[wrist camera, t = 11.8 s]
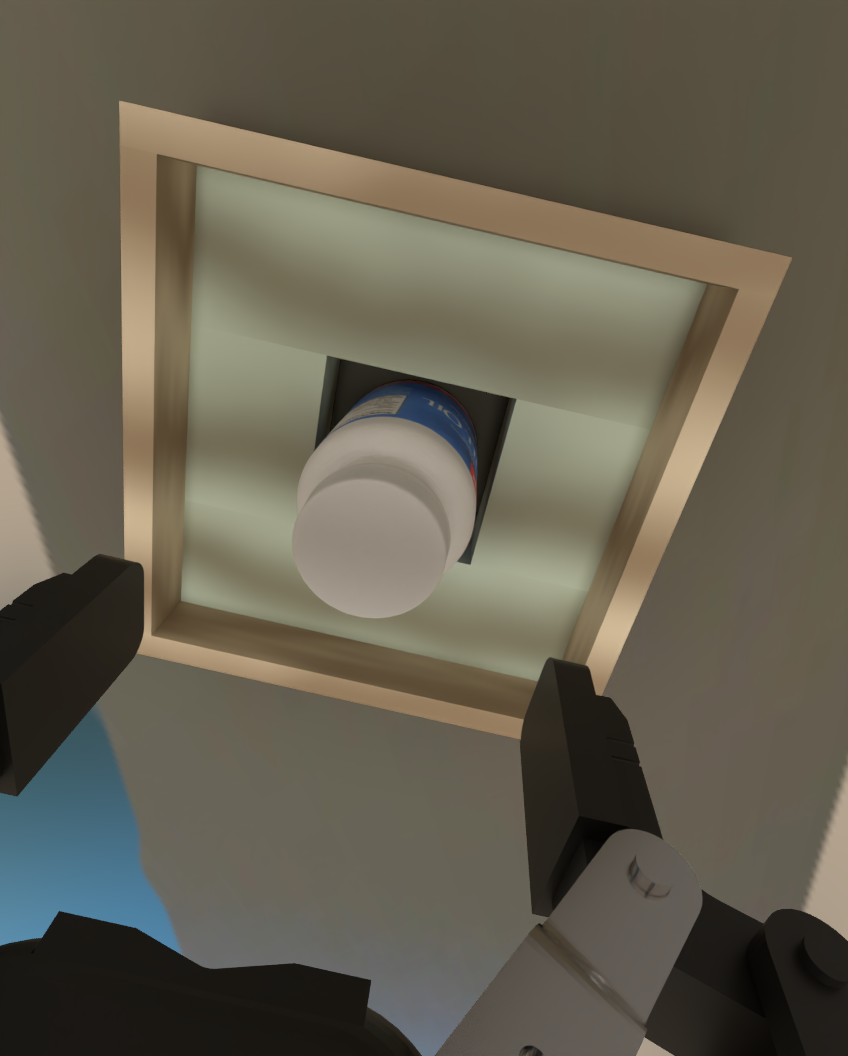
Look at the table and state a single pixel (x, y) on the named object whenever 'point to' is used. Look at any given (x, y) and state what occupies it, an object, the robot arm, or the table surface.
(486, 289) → the bore box
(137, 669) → the table surface
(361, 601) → the pill bottle
